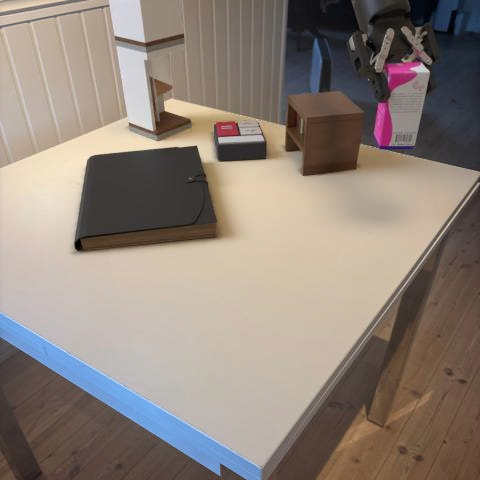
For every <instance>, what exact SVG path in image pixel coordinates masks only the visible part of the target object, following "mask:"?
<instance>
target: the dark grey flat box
mask: <svg viewBox="0 0 480 480" xmlns="http://www.w3.org/2000/svg"><path fill="white" fill-rule="evenodd" d="M213 134H214V135H213V137H214V144H215V149H216V158H217V161H219V162H221V161H223V162H224V161H239V160H243V161H244V160H259V159H260V160H261V159H266V158H267V150H268V149H267V147H268V145H267V139H266V137H265V135H264V132H263V130H262V126H261V125H260V122H258V120H256V119H255V120H254V119H253V120H252V119H250V120H238V121H237V122H236V121H235V120H233V121H231V120H230V121H216V122H215V123H214V124H213Z"/></svg>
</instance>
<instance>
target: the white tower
mask: <svg viewBox="0 0 480 480" xmlns="http://www.w3.org/2000/svg"><path fill="white" fill-rule="evenodd" d="M182 2H183V1H182V0H108V4H109V5H108V6H109V10H110V17H111V22H112V23H111V24H112V29H113V35H114V42H115V48H116V54H117V61H118V67H119V72H120V78H121V85H122V91H123V97H124V103H125V110H126V116H127V122H128V127H129V131H131V132H132V133H135V134H139V135H141V136H143V137H146V138H149V139H152V140H154V141H157V142H159V141H161V140H163V139H166V138H169V137H172V136H173V135H176V134H179V133H181V132H184V131H186V130H189V129H192V120H191V118H189V117H184V116H181V115H179V114H175V113H173V112H170V111H167V110H166V108H165V99H164V98H165V97H164V94H166V93H168V92H170V91H172V90H173V89H174V83H173V73H172V63H171V61H172V60H171V54H175V53H179V52H183V51H186V42H185V41H186V40H185V27H184V15H183V13H184V12H183V5H182V4H183V3H182Z"/></svg>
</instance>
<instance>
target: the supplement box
mask: <svg viewBox="0 0 480 480" xmlns="http://www.w3.org/2000/svg"><path fill="white" fill-rule="evenodd" d="M382 73H385V76H386V79H387V83H388V86H389V90H390V93H391V97H390V98H389V99H388V100H387V101H386V102H385V103H379V102H378V103H377V112H376V116H375V124H374V129H373V138H374V141H375V143H376V145H377V149H378V150H415V147H416V142H417V137H418V134H419V133H418V132H419V128H420V123H421V119H422V114H423V109H424V105H425V98H426V96H425V95H426V90H427V85H428V80H429V76H430V71H429V70H428V69H427V68H426V67H425V66H424V65H423V64H422V62H421V61H419V62H405V63H404V62H385V63H384V66H383V70H382Z"/></svg>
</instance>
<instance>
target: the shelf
mask: <svg viewBox="0 0 480 480" xmlns="http://www.w3.org/2000/svg"><path fill="white" fill-rule="evenodd" d="M365 115H366V114H365V111H364V110H363V109H361V108H360V107H359V106H358V105H357V104H356V103H355V102H354V101H353V100H351V99H350V98H349V97H347V96H346V95H345V94H344V93H343V92H342V91H340V90H335V91H334V90H333V91H324V92H323V91H322V92H312V93H299V94H298V93H297V94H287V97H286V114H285V134H284V135H285V136H284V138H285V139H284V151H285V152H295V151H296V152H297V151H301V153H302V154H301V158H302V159H301V169H300V174H301V176H312V175H321V174H329V173H330V174H331V173H339V172H348V171H356V170H357V165H358V161H359V155H360V147H361V141H362V135H363V128H364V122H365V121H364V120H365Z"/></svg>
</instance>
